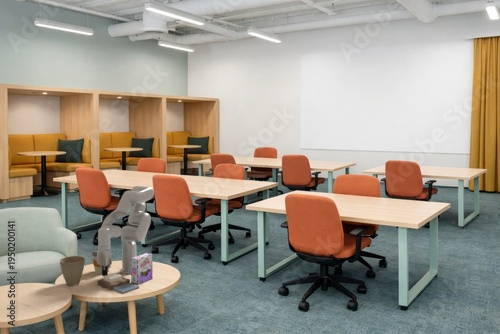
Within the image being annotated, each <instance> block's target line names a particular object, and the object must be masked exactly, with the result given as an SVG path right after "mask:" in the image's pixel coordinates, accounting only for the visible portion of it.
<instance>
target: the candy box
mask: <svg viewBox="0 0 500 334" xmlns="http://www.w3.org/2000/svg"><path fill="white" fill-rule="evenodd" d="M149 279H150V280H151V279H153V254H152V253H147V252H145V253H143V254H140V255H137V256H136V257H133V258H131V274H130V284H134V285H140V284H142V283H144V282H147V281H150V280H149Z"/></svg>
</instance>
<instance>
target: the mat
mask: <svg viewBox="0 0 500 334" xmlns="http://www.w3.org/2000/svg"><path fill="white" fill-rule="evenodd" d="M137 289H140V286H139V285H137V284H134V283H131V282H130V283H127V284H124V285H121V286H118V287H115V288H113V290H112V291H115V292H117V293H121V294H123V295H124V294H127V293H130V292H132V291H134V290H137Z"/></svg>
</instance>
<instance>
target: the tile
mask: <svg viewBox="0 0 500 334" xmlns="http://www.w3.org/2000/svg"><path fill="white" fill-rule="evenodd" d="M102 277H103V278H102V279H103V280H105V281H108V282H110V283H112V282H115V281H119V280H122V277H123V275H122V274H118V273H115V272H113V273H108V275H106V276H102Z"/></svg>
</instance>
